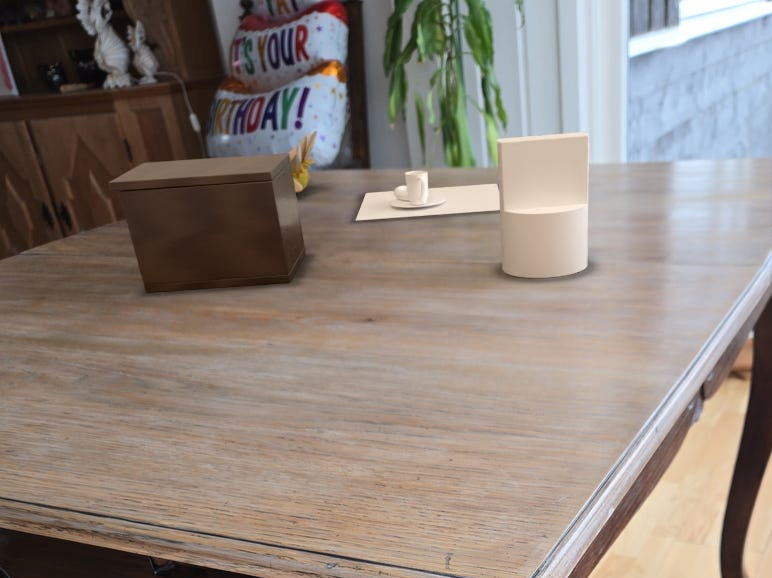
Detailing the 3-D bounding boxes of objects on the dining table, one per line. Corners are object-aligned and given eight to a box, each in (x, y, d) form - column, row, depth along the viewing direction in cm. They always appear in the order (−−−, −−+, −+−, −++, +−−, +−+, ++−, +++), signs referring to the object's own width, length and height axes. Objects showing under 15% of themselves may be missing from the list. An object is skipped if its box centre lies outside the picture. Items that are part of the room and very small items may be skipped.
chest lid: (109, 191, 90) (107, 182, 89) (145, 170, 100) (143, 162, 99) (271, 180, 89) (270, 171, 89) (290, 161, 99) (289, 152, 99)
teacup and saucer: (391, 200, 129) (388, 169, 127) (446, 196, 129) (443, 165, 127) (388, 212, 122) (384, 179, 120) (446, 208, 122) (443, 175, 120)
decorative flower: (254, 173, 146) (255, 104, 139) (323, 187, 146) (327, 119, 140) (230, 199, 134) (229, 125, 128) (304, 214, 135) (307, 141, 129)
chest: (145, 292, 95) (118, 192, 90) (175, 263, 106) (152, 171, 100) (290, 282, 95) (272, 181, 89) (306, 254, 105) (290, 161, 100)
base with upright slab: (506, 281, 90) (501, 147, 83) (498, 259, 98) (492, 135, 91) (594, 273, 91) (596, 139, 84) (579, 253, 98) (580, 128, 91)
